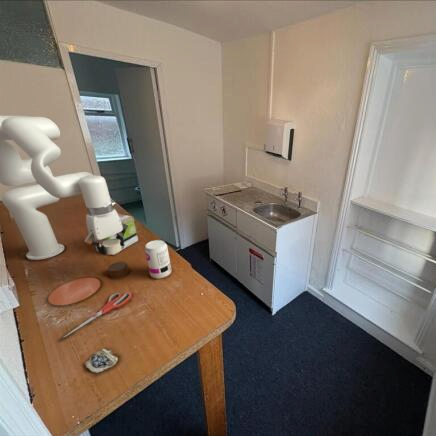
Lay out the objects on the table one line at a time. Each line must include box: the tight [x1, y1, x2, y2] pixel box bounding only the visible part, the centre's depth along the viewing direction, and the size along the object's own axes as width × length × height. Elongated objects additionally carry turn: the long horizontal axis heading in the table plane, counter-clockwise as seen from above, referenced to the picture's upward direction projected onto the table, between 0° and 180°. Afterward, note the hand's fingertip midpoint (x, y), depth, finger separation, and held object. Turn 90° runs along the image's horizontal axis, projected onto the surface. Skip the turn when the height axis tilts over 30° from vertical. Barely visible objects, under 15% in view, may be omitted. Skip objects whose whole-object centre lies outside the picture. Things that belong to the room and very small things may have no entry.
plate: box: [47, 277, 101, 306], centre depth 89 cm, size 15×15×1 cm
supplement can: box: [144, 239, 172, 280], centre depth 99 cm, size 8×8×15 cm
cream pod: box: [102, 239, 122, 256], centre depth 94 cm, size 6×6×4 cm
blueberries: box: [84, 348, 119, 374], centre depth 66 cm, size 7×8×2 cm
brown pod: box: [107, 261, 129, 279], centre depth 99 cm, size 7×7×4 cm
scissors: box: [63, 292, 133, 338], centre depth 80 cm, size 8×21×2 cm, turn 170°
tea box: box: [92, 213, 139, 256], centre depth 115 cm, size 15×10×15 cm, turn 168°
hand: (112, 249), depth 94 cm, fingers closed on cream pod, 6 cm apart
